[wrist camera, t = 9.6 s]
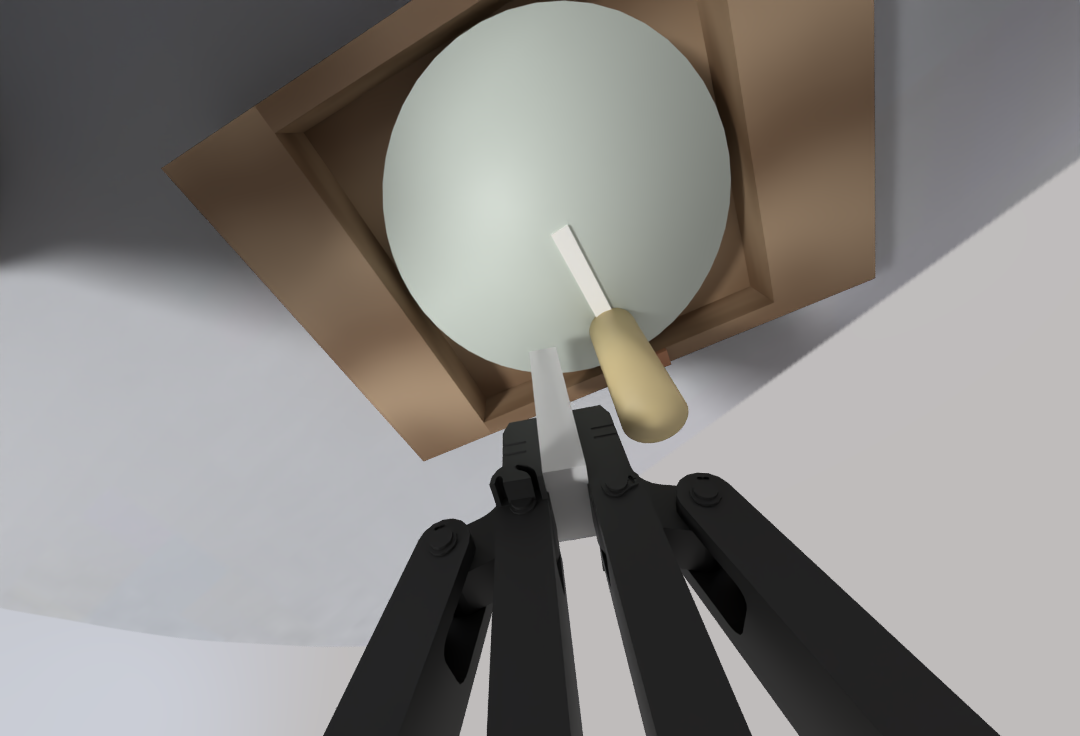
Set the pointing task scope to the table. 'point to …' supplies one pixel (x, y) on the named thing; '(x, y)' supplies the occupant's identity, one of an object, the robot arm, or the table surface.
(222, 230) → the wooden tray
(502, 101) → the dial
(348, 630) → the table surface
